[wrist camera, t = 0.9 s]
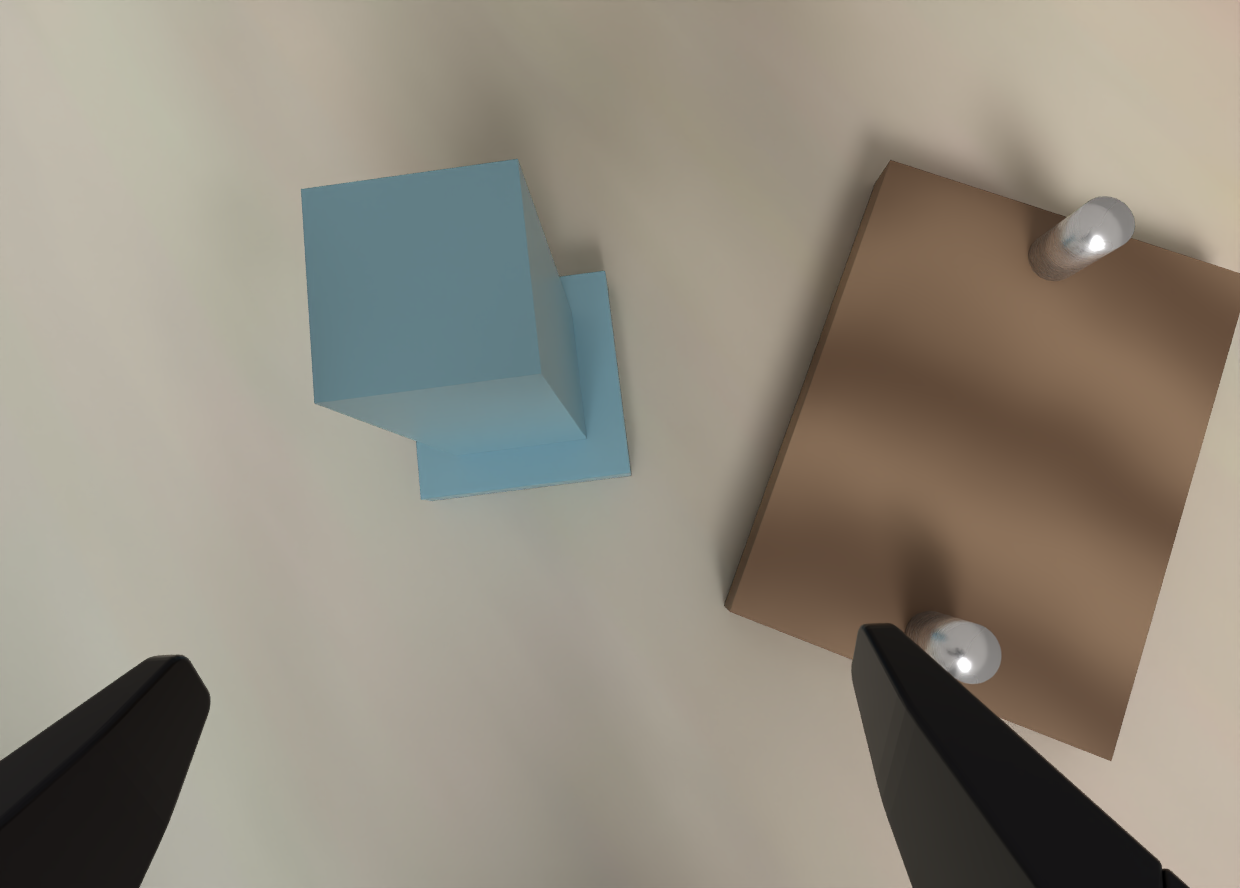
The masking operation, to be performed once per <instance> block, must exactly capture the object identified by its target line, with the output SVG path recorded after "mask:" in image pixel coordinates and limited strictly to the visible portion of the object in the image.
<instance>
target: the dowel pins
mask: <svg viewBox="0 0 1240 888" xmlns="http://www.w3.org/2000/svg"><path fill="white" fill-rule="evenodd" d="M1134 229H1135V220H1134V216H1133V214H1132V212H1131V210H1130V209H1129V208H1128V207H1127V205H1125V204H1124V203H1123V202H1121V201H1120V200H1118V199H1115V198H1112V197H1097V198H1094V199H1092V200H1090V201H1088V202H1087V203H1085V204H1084V205H1083V206H1081V207H1080V208H1079V209H1077V210H1076V211H1075V212H1073V213H1072V214H1071V215H1069V216H1068V217H1066V218H1065V219H1064V220H1062V221H1061V222H1060V223H1058V224H1057V225H1056V226H1054V227H1053V228H1051V229H1050V230H1049V231H1047V232H1046V233H1045V234H1043V235H1042V236H1041V237H1039V238H1038V239H1036V240H1035V241H1034V242H1033V243H1032V245H1031V246H1030V249H1029V252H1028V261H1029V264H1030V267H1031V268H1032V270H1033V271H1034V272H1035V273H1036V274H1037V275H1038V276H1039V277H1041V278H1043V279H1045V280H1049V281H1060V280H1064V279H1066V278H1068V277H1070V276H1071V275H1073V274H1075V273H1076V272H1078V271H1080V270H1082V269H1083V268H1085V267H1087V266H1088V265H1090V264H1092V263H1093V262H1095V261H1097V260H1098V259H1100V258H1102V257H1104V256H1105V255H1107V254H1109V253H1110V252H1112V251H1114V250H1115V249H1117V248H1119V247H1121V246H1122V245H1124V244H1125V243H1127V242H1128V241H1129V239H1130V238H1131V237H1132V235H1133V233H1134ZM905 634H906V635H907V636H908V637H910V638H911V639H912V640H913V641H914V642H915V643H916V644H917V645H919V646H920V647H921V648H922V649H923V650H924V651H925V652H926V653H927V654H929V655H930V656H931V657H932V658H933V659H934V660H935V661H936V662H938V663H939V664H940V665H941V666H942V667H943V668H944V669H945V670H946V671H948V672H949V673H950V674H951V675H952V676H953V677H954V678H955V679H957V680H959V681H961V682H964V683H968V684H978V683H982V682H985V681H987V680H989V679H990V678H991V677H993V676H994V675H995V673H996V672H997V670H998V668H999V666H1000V663H1001V648H1000V645H999V642H998V640H997V639H996V637H995V636H994V634H993V633H992V632H991V631H989V630H988V629H987V628H985V627H984V626H981V625H979V624H976V623H972V622H969V621H966V620H962V619H959V618H955V617H952V616H949V615H945V614H942V613H939V612H935V611H923V612H920V613H918V614H916V615H915V616H913V617H912V618H911V619H910V620H909V622H908V624H907V626H906V628H905Z"/></svg>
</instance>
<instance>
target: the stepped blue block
mask: <svg viewBox="0 0 1240 888" xmlns="http://www.w3.org/2000/svg"><path fill="white" fill-rule="evenodd" d="M301 197H302V213H303V229H304V245H305V261H306V276H307V292H308V308H309V324H310V340H311V356H312V372H313V388H314V403H315V404H318V405H320V406H323V407H326V408H328V409H331V410H334V411H336V412H339V413H342V414H345V415H347V416H350V417H353V418H355V419H358V420H361V421H363V422H366V423H369V424H372V425H374V426H377V427H380V428H382V429H385V430H388V431H390V432H393V433H396V434H399V435H401V436H404V437H407V438H409V439H412V440H415V441H416V446H417V458H418V470H419V482H420V494H421V499H422V500H430V501H435V500H443V499H451V498H459V497H467V496H475V495H483V494H491V493H499V492H506V491H514V490H522V489H530V488H538V487H546V486H554V485H562V484H570V483H578V482H585V481H593V480H601V479H609V478H617V477H625V476H631V469H630V461H629V453H628V445H627V437H626V429H625V421H624V414H623V406H622V398H621V390H620V382H619V374H618V366H617V358H616V350H615V342H614V334H613V326H612V318H611V310H610V303H609V295H608V287H607V280H606V274H605V271H599V272H592V273H584V274H577V275H569V276H562V277H559V275H558V272H557V269H556V266H555V263H554V260H553V257H552V255H551V252H550V249H549V246H548V243H547V240H546V238H545V235H544V232H543V229H542V226H541V223H540V221H539V218H538V215H537V212H536V209H535V206H534V204H533V201H532V198H531V195H530V192H529V189H528V187H527V184H526V181H525V178H524V175H523V172H522V170H521V167H520V164H519V161H518V159H514V160H506V161H499V162H492V163H485V164H478V165H471V166H464V167H456V168H449V169H442V170H435V171H428V172H421V173H413V174H406V175H399V176H392V177H385V178H378V179H371V180H363V181H356V182H349V183H342V184H335V185H328V186H321V187H313V188H306V189H301Z"/></svg>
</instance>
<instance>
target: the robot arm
mask: <svg viewBox="0 0 1240 888" xmlns="http://www.w3.org/2000/svg"><path fill="white" fill-rule="evenodd" d="M851 672H852V681H853V686H854V690H855V694H856V698H857V702H858V707H859V711H860V715H861V719H862V723H863V727H864V731H865V735H866V739H867V744H868V748H869V752H870V756H871V760H872V764H873V768H874V772H875V776H876V780H877V784H878V788H879V792H880V796H881V799H882V803H883V806H884V809H885V812H886V815H887V818H888V821H889V824H890V826H891V829H892V832H893V835H894V837H895V840H896V843H897V846H898V849H899V851H900V854H901V857H902V860H903V862H904V865H905V868H906V871H907V874H908V876H909V879H910V882H911V885H912V888H1190V887H1188V886H1187V885H1186V884H1185V883H1184V882H1183V881H1182V880H1181V879H1179V878H1178V877H1177V876H1176V875H1175V874H1174V873H1173V872H1172V871H1170V870H1169V869H1162V865H1161V863H1160V861H1159V860H1158V859H1157V858H1156V857H1154V856H1153V855H1152V854H1151V853H1150V852H1149V851H1148V850H1147V849H1146V848H1144V847H1143V846H1142V845H1141V844H1140V843H1139V842H1138V841H1137V840H1135V839H1134V838H1133V837H1132V836H1131V835H1130V834H1129V833H1128V832H1127V831H1125V830H1124V829H1123V828H1122V827H1121V826H1120V825H1119V824H1118V823H1116V822H1115V821H1114V820H1113V819H1112V818H1111V817H1110V816H1109V815H1108V814H1106V813H1105V812H1104V811H1103V810H1102V809H1101V808H1100V807H1099V806H1097V805H1096V804H1095V803H1094V802H1093V801H1092V800H1091V799H1090V798H1089V797H1087V796H1086V795H1085V794H1084V793H1083V792H1082V791H1081V790H1080V789H1078V788H1077V787H1076V786H1075V785H1074V784H1073V783H1072V782H1071V781H1069V780H1068V779H1067V778H1066V777H1065V776H1064V775H1063V774H1062V773H1061V772H1059V771H1058V770H1057V769H1056V768H1055V767H1054V766H1053V765H1052V764H1050V763H1049V762H1048V761H1047V760H1046V759H1045V758H1044V757H1043V756H1042V755H1040V754H1039V753H1038V752H1037V751H1036V750H1035V749H1034V748H1033V747H1031V746H1030V745H1029V744H1028V743H1027V742H1026V741H1025V740H1024V739H1023V738H1021V737H1020V736H1019V735H1018V734H1017V733H1016V732H1015V731H1014V730H1012V729H1011V728H1010V727H1009V726H1008V725H1007V724H1006V723H1005V722H1004V721H1002V720H1001V719H1000V718H999V717H998V716H997V715H996V714H995V713H993V712H992V711H991V710H990V709H989V708H988V707H987V706H986V705H985V704H983V703H982V702H981V701H980V700H979V699H978V698H977V697H976V696H974V695H973V694H972V693H971V692H970V691H969V690H968V689H967V688H966V687H964V686H963V685H962V684H961V683H960V682H959V681H958V680H957V679H955V678H954V677H953V676H952V675H951V674H950V673H949V672H948V671H946V670H945V669H944V668H943V667H942V666H941V665H940V664H939V663H938V662H936V661H935V660H934V659H933V658H932V657H931V656H930V655H929V654H927V653H926V652H925V651H924V650H923V649H922V648H921V647H920V646H919V645H917V644H916V643H915V642H914V641H913V640H912V639H911V638H910V637H908V636H907V635H906V634H905V633H904V632H903V631H902V630H901V629H900V628H898V627H897V626H896V625H894V624H891V623H870V624H863V625H861V626H860V628H859V630H858V633H857V639H856V644H855V650H854V655H853V661H852V669H851ZM209 709H210V694H209V691H208V689H207V688H206V686H205V684H204V683H203V681H202V680H201V678H200V676H199V675H198V673H197V671H196V670H195V668H194V666H193V665H192V663H191V661H190V660H189V659H188V658H187V657H185V656H183V655H159V656H153V657H150V658H148V659H146V660H144V661H143V662H141V663H140V664H138V665H137V666H136V667H134V668H133V669H131V670H130V671H128V672H127V673H125V674H124V675H123V676H121V677H120V678H118V679H117V680H115V681H114V682H113V683H111V684H110V685H108V686H107V687H105V688H104V689H103V690H101V691H100V692H98V693H97V694H95V695H94V696H93V697H91V698H90V699H88V700H87V701H85V702H84V703H83V704H81V705H80V706H78V707H77V708H75V709H74V710H73V711H71V712H70V713H68V714H67V715H65V716H64V717H63V718H61V719H60V720H58V721H57V722H55V723H54V724H52V725H51V726H50V727H48V728H47V729H45V730H44V731H42V732H41V733H40V734H38V735H37V736H35V737H34V738H32V739H31V740H30V741H28V742H27V743H25V744H24V745H22V746H21V747H20V748H18V749H17V750H15V751H14V752H12V753H11V754H10V755H8V756H7V757H5V758H4V759H2V760H1V761H0V888H139V887H140V885H141V883H142V881H143V879H144V877H145V874H146V872H147V870H148V868H149V866H150V864H151V862H152V859H153V857H154V855H155V853H156V851H157V849H158V846H159V844H160V842H161V840H162V837H163V835H164V833H165V831H166V828H167V826H168V823H169V821H170V818H171V816H172V813H173V810H174V808H175V805H176V802H177V800H178V797H179V794H180V791H181V789H182V786H183V783H184V780H185V777H186V775H187V772H188V769H189V766H190V763H191V761H192V758H193V755H194V752H195V749H196V747H197V744H198V741H199V738H200V735H201V733H202V730H203V727H204V724H205V721H206V719H207V716H208V713H209Z"/></svg>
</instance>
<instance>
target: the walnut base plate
mask: <svg viewBox="0 0 1240 888" xmlns="http://www.w3.org/2000/svg"><path fill="white" fill-rule="evenodd" d="M1065 218H1066V217H1065V216H1062V215H1058V214H1055V213H1052V212H1049V211H1046V210H1043V209H1040V208H1037V207H1034V206H1031V205H1028V204H1025V203H1021V202H1018V201H1015V200H1012V199H1009V198H1006V197H1003V196H1000V195H997V194H994V193H991V192H988V191H984V190H981V189H978V188H975V187H972V186H969V185H966V184H963V183H960V182H957V181H954V180H951V179H947V178H944V177H941V176H938V175H935V174H932V173H929V172H926V171H923V170H920V169H917V168H914V167H910V166H907V165H904V164H901V163H898V162H895V161H892V160H890V162H889V163H888V165H887V166H886V168H885V169H884V171H883V172H882V174H881V175H880V177H879V178H878V180H877V181H876V183H875V185H874V188H873V191H872V193H871V196H870V199H869V202H868V205H867V207H866V210H865V213H864V216H863V219H862V221H861V224H860V227H859V230H858V233H857V235H856V238H855V241H854V244H853V247H852V249H851V252H850V255H849V258H848V261H847V263H846V266H845V269H844V272H843V275H842V277H841V280H840V283H839V286H838V289H837V291H836V294H835V297H834V300H833V303H832V305H831V308H830V311H829V314H828V317H827V319H826V322H825V325H824V328H823V331H822V333H821V336H820V339H819V342H818V344H817V347H816V350H815V353H814V356H813V358H812V361H811V364H810V367H809V370H808V372H807V375H806V378H805V381H804V384H803V386H802V389H801V392H800V395H799V398H798V400H797V403H796V406H795V409H794V412H793V414H792V417H791V420H790V423H789V426H788V428H787V431H786V434H785V437H784V440H783V442H782V445H781V448H780V451H779V454H778V456H777V459H776V462H775V465H774V468H773V470H772V473H771V476H770V479H769V482H768V484H767V487H766V490H765V493H764V496H763V498H762V501H761V504H760V507H759V510H758V512H757V515H756V518H755V521H754V524H753V526H752V529H751V532H750V535H749V538H748V540H747V543H746V546H745V549H744V552H743V554H742V557H741V560H740V563H739V565H738V568H737V571H736V574H735V577H734V579H733V582H732V585H731V588H730V591H729V593H728V596H727V599H726V602H725V605H724V606H725V607H726V608H727V609H728V610H729V611H730V612H732V613H735V614H737V615H740V616H742V617H745V618H747V619H750V620H753V621H755V622H758V623H760V624H763V625H765V626H768V627H770V628H773V629H776V630H778V631H781V632H783V633H786V634H788V635H791V636H793V637H796V638H798V639H801V640H804V641H806V642H809V643H811V644H814V645H816V646H819V647H821V648H824V649H827V650H829V651H832V652H834V653H837V654H839V655H842V656H844V657H847V658H849V659H852V660H853V655H854V650H855V644H856V639H857V633H858V630H859V628H860V626H861V625H863V624H870V623H891V624H894V625H896V626H897V627H898V628H900V629H901V630H902V631H903V632H904V633H905V628H906V626H907V624H908V622H909V620H910V619H911V618H912V617H913V616H915V615H916V614H918V613H920V612H923V611H935V612H939V613H942V614H945V615H949V616H952V617H955V618H959V619H962V620H966V621H969V622H972V623H976V624H979V625H981V626H984V627H985V628H987V629H988V630H989V631H991V632H992V633H993V634H994V636H995V637H996V639H997V640H998V642H999V645H1000V648H1001V663H1000V666H999V668H998V670H997V672H996V673H995V675H994V676H993V677H991V678H990V679H989V680H987V681H985V682H982V683H978V684H968V683H964V682H961V681H959V680H958V681H959V682H960V683H961V684H962V685H963V686H964V687H966V688H967V689H968V690H969V691H970V692H971V693H972V694H973V695H974V696H976V697H977V698H978V699H979V700H980V701H981V702H982V703H983V704H985V705H986V706H987V707H988V708H989V709H990V710H991V711H992V712H993V713H995V714H996V715H997V716H998V717H1000V718H1002V719H1005V720H1008V721H1010V722H1013V723H1015V724H1018V725H1020V726H1023V727H1025V728H1028V729H1031V730H1033V731H1036V732H1038V733H1041V734H1043V735H1046V736H1048V737H1051V738H1054V739H1056V740H1059V741H1061V742H1064V743H1066V744H1069V745H1071V746H1074V747H1076V748H1079V749H1082V750H1084V751H1087V752H1089V753H1092V754H1094V755H1097V756H1099V757H1102V758H1105V759H1107V760H1110V761H1111V760H1112V757H1113V753H1114V750H1115V746H1116V743H1117V739H1118V736H1119V732H1120V729H1121V725H1122V722H1123V718H1124V715H1125V711H1126V708H1127V704H1128V701H1129V697H1130V694H1131V690H1132V687H1133V683H1134V680H1135V676H1136V673H1137V669H1138V666H1139V662H1140V659H1141V656H1142V652H1143V649H1144V645H1145V642H1146V638H1147V635H1148V631H1149V628H1150V624H1151V621H1152V617H1153V614H1154V610H1155V607H1156V603H1157V600H1158V596H1159V593H1160V589H1161V586H1162V582H1163V579H1164V575H1165V572H1166V568H1167V565H1168V561H1169V558H1170V554H1171V551H1172V547H1173V544H1174V540H1175V537H1176V533H1177V530H1178V526H1179V523H1180V519H1181V516H1182V512H1183V509H1184V505H1185V502H1186V498H1187V495H1188V491H1189V488H1190V484H1191V481H1192V477H1193V474H1194V470H1195V467H1196V463H1197V460H1198V457H1199V453H1200V450H1201V446H1202V443H1203V439H1204V436H1205V432H1206V429H1207V425H1208V422H1209V418H1210V415H1211V411H1212V408H1213V404H1214V401H1215V397H1216V394H1217V390H1218V387H1219V383H1220V380H1221V376H1222V373H1223V369H1224V366H1225V362H1226V359H1227V355H1228V352H1229V348H1230V345H1231V341H1232V338H1233V334H1234V331H1235V327H1236V324H1237V320H1238V317H1239V313H1240V273H1237V272H1234V271H1231V270H1228V269H1225V268H1222V267H1219V266H1216V265H1213V264H1210V263H1206V262H1203V261H1200V260H1197V259H1194V258H1191V257H1188V256H1185V255H1182V254H1179V253H1176V252H1173V251H1169V250H1166V249H1163V248H1160V247H1157V246H1154V245H1151V244H1148V243H1145V242H1142V241H1139V240H1136V239H1132V238H1130V239H1129V241H1128V242H1127V243H1125V244H1124V245H1122V246H1121V247H1119V248H1117V249H1115V250H1114V251H1112V252H1110V253H1109V254H1107V255H1105V256H1104V257H1102V258H1100V259H1098V260H1097V261H1095V262H1093V263H1092V264H1090V265H1088V266H1087V267H1085V268H1083V269H1082V270H1080V271H1078V272H1076V273H1075V274H1073V275H1071V276H1070V277H1068V278H1066V279H1064V280H1060V281H1049V280H1045V279H1043V278H1041V277H1039V276H1038V275H1037V274H1036V273H1035V272H1034V271H1033V270H1032V268H1031V267H1030V264H1029V261H1028V252H1029V249H1030V246H1031V245H1032V243H1033V242H1034V241H1035V240H1036V239H1038V238H1039V237H1041V236H1042V235H1043V234H1045V233H1046V232H1047V231H1049V230H1050V229H1051V228H1053V227H1054V226H1056V225H1057V224H1058V223H1060V222H1061V221H1062V220H1064V219H1065Z"/></svg>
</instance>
